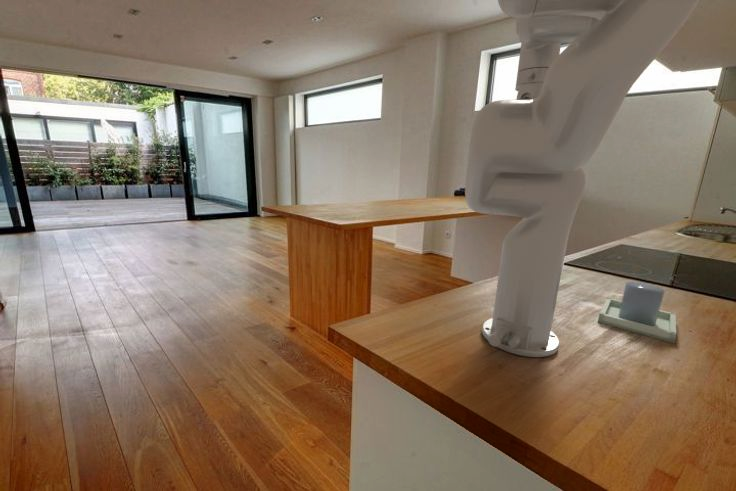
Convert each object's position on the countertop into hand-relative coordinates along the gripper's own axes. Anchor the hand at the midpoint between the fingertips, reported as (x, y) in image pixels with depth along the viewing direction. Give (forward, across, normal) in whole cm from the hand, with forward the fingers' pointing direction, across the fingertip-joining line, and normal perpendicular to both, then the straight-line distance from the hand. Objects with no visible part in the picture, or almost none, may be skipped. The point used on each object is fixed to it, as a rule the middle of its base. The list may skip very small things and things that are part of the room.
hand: (523, 164), depth 76 cm
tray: (+30, +2, -26) cm, 40 cm away
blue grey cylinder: (+30, +2, -26) cm, 39 cm away
